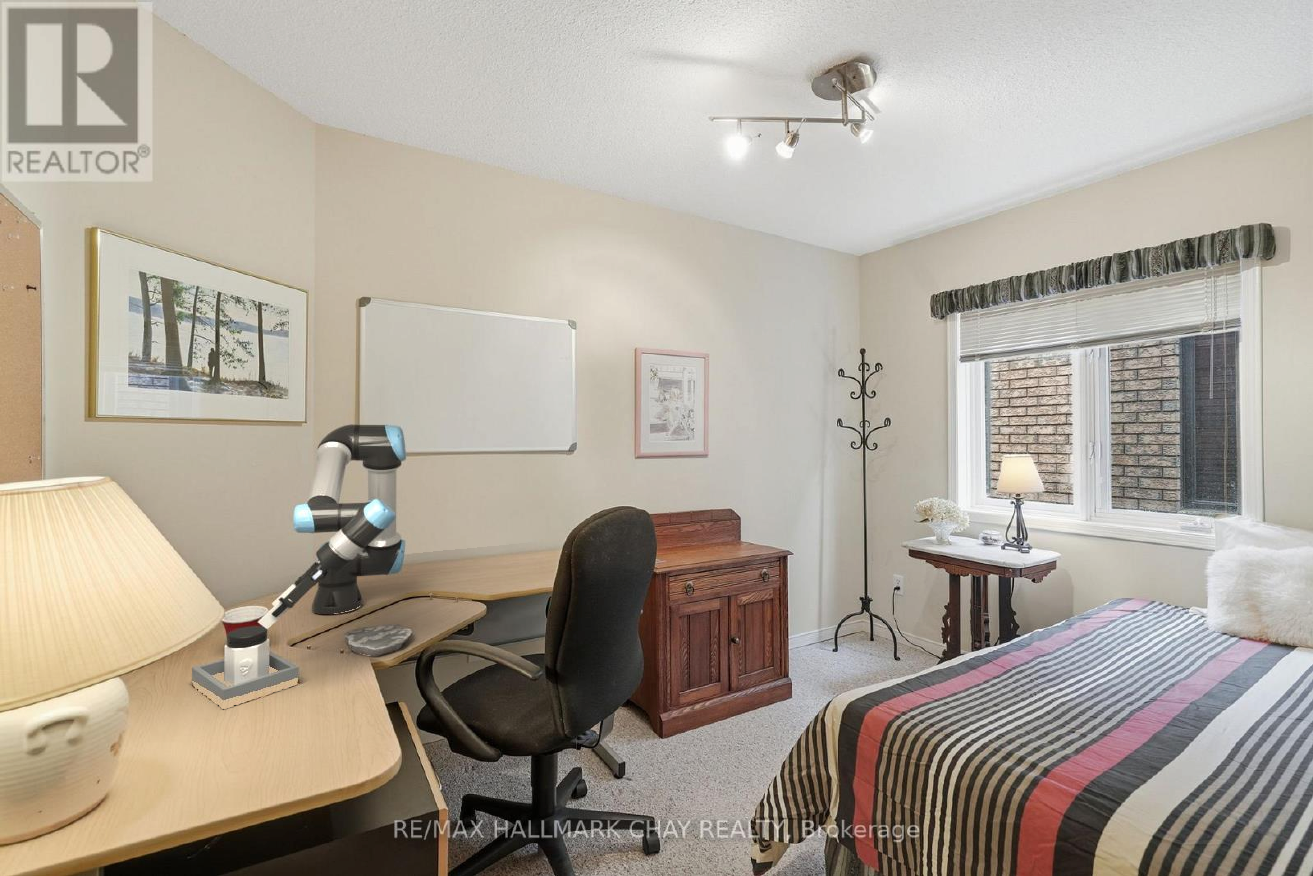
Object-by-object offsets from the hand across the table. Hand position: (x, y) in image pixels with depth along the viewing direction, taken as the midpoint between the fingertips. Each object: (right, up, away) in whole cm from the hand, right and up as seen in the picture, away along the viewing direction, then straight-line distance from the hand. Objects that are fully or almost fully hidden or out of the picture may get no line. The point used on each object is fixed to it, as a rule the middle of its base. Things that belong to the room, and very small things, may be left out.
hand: (269, 615), depth 143 cm
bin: (-5, -16, -1) cm, 17 cm away
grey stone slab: (+15, -17, +26) cm, 34 cm away
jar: (-5, -16, -1) cm, 16 cm away
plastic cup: (-17, -16, +16) cm, 28 cm away
